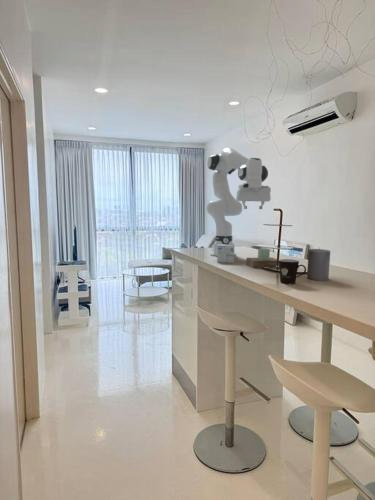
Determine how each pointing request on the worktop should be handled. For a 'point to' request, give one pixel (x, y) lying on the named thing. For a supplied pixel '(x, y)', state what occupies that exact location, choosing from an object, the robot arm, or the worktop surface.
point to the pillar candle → (318, 264)
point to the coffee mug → (289, 270)
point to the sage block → (263, 254)
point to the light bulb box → (225, 253)
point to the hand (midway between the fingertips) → (253, 209)
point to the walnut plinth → (261, 262)
